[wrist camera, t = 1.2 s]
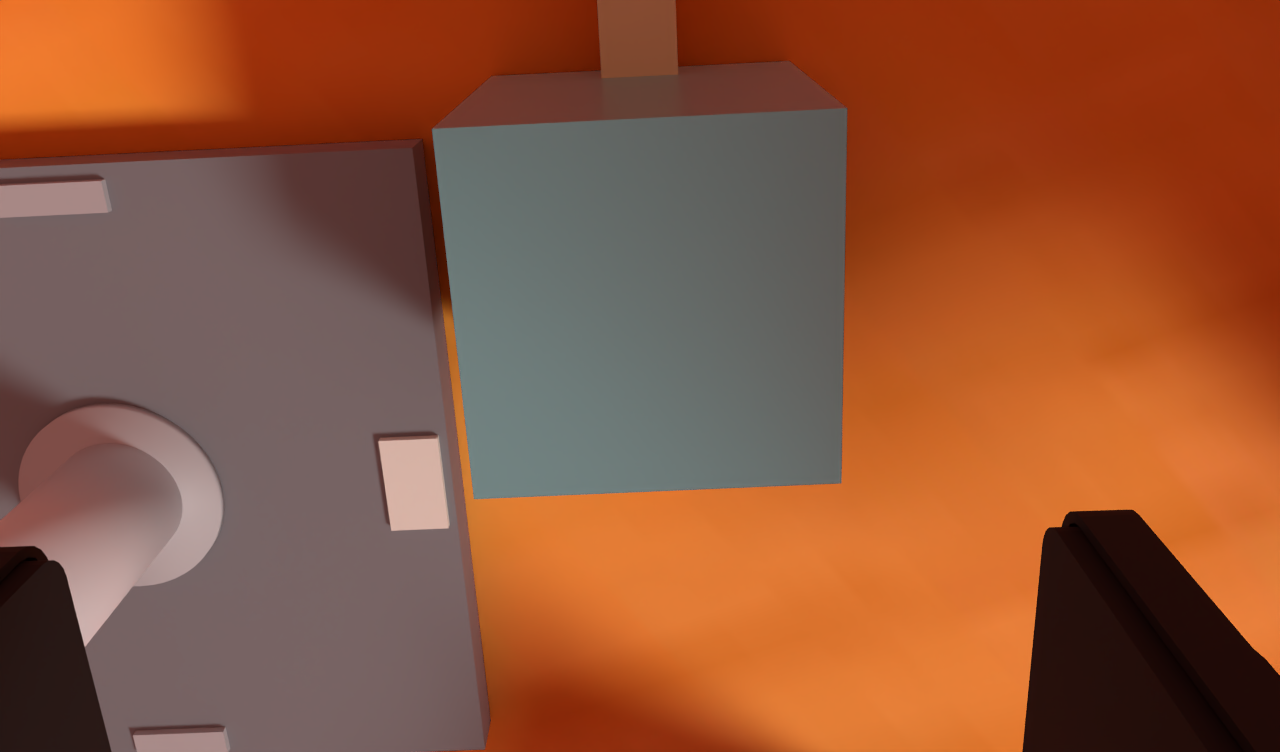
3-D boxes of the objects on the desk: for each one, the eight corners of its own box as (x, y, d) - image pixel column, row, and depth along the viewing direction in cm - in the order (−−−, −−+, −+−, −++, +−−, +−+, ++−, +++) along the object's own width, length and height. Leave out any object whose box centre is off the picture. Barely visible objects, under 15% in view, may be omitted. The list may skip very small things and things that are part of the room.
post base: (422, 138, 26) (343, 208, 19) (490, 720, 31) (448, 933, 25) (-273, 173, 26) (-593, 254, 19) (-79, 742, 32) (-274, 958, 25)
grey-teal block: (478, -64, 24) (409, -67, 17) (788, -81, 24) (850, -90, 17) (527, 463, 28) (490, 635, 21) (790, 451, 28) (838, 622, 21)
